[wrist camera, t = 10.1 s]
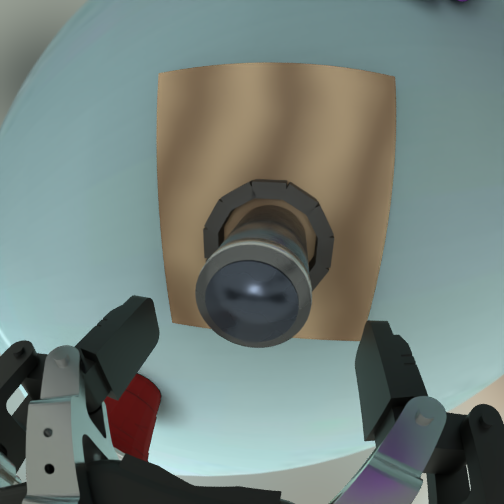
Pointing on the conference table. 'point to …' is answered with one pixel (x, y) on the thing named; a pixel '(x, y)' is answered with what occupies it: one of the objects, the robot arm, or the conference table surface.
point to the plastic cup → (133, 418)
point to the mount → (278, 176)
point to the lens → (258, 280)
